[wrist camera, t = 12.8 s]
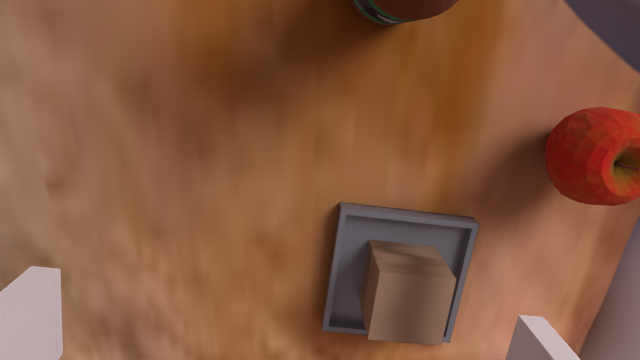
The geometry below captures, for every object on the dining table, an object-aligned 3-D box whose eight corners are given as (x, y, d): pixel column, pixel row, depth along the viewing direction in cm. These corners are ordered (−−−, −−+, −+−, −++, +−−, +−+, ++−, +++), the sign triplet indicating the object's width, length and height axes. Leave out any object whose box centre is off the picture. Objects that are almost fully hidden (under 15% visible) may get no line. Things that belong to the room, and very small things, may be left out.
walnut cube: (358, 299, 50) (367, 339, 43) (368, 239, 48) (379, 271, 41) (422, 304, 50) (441, 345, 43) (435, 246, 48) (456, 279, 41)
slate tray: (321, 320, 51) (322, 330, 49) (339, 202, 47) (341, 208, 45) (444, 332, 52) (449, 342, 50) (472, 217, 48) (479, 223, 46)
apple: (537, 196, 48) (602, 239, 37) (505, 126, 45) (565, 151, 35) (615, 156, 47) (704, 189, 36) (586, 81, 44) (673, 94, 34)
